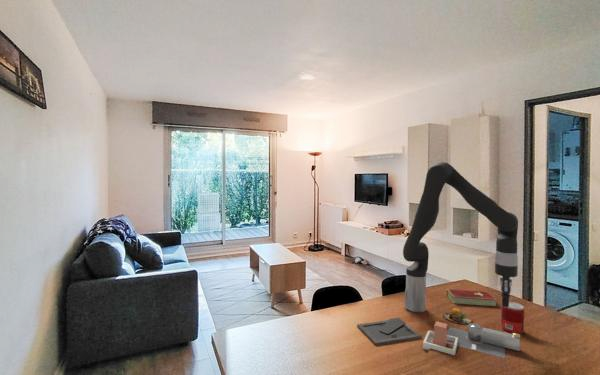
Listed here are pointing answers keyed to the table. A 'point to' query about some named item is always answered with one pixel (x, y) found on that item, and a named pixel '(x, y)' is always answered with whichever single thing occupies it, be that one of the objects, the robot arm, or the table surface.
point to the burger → (457, 316)
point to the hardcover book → (471, 297)
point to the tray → (428, 344)
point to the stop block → (440, 334)
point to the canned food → (513, 318)
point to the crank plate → (475, 343)
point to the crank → (493, 337)
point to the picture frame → (388, 331)
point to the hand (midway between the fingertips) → (505, 305)
